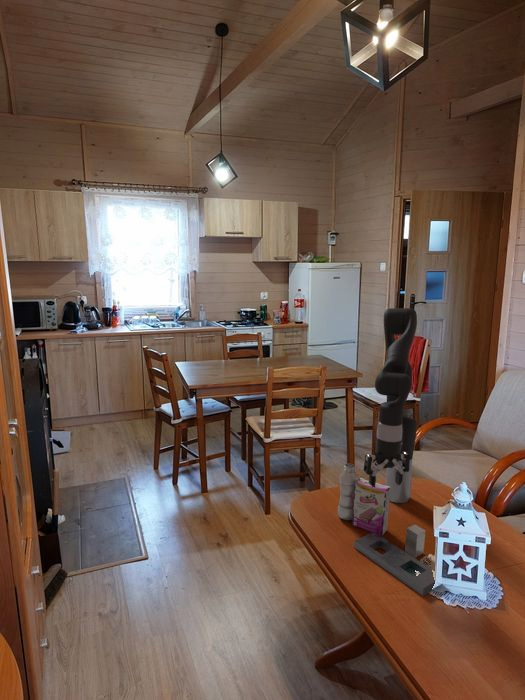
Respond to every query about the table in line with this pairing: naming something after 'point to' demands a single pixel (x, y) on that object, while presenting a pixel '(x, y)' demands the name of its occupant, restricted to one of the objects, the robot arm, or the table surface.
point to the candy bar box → (371, 506)
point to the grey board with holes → (397, 562)
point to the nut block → (415, 540)
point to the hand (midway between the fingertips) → (385, 484)
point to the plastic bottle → (347, 492)
